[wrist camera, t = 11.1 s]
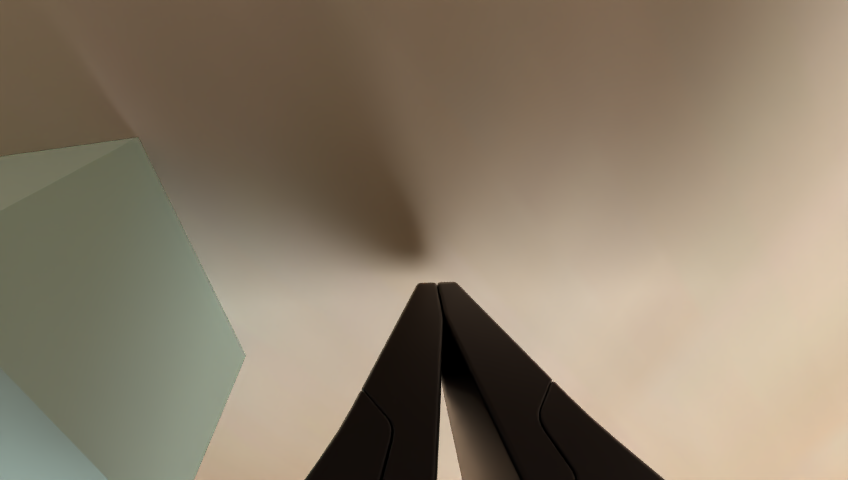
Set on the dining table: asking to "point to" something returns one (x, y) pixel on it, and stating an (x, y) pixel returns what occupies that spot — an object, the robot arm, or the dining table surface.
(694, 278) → the dining table surface
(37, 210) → the block
